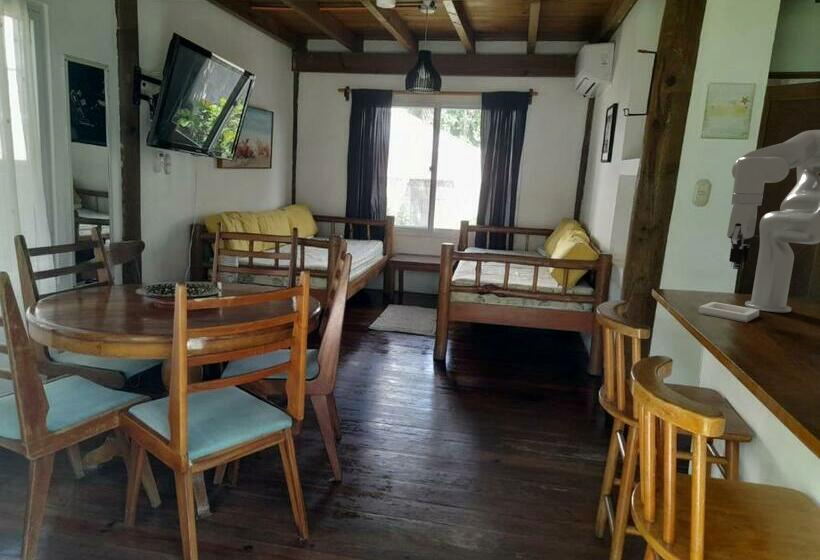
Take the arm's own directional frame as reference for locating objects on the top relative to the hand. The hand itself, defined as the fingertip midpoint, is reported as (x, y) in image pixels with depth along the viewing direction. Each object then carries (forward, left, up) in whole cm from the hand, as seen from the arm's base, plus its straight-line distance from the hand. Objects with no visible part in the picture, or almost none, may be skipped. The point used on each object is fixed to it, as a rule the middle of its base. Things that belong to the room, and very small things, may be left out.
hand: (738, 260), depth 157 cm
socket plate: (0, -1, -17) cm, 17 cm away
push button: (+1, 0, -3) cm, 3 cm away
